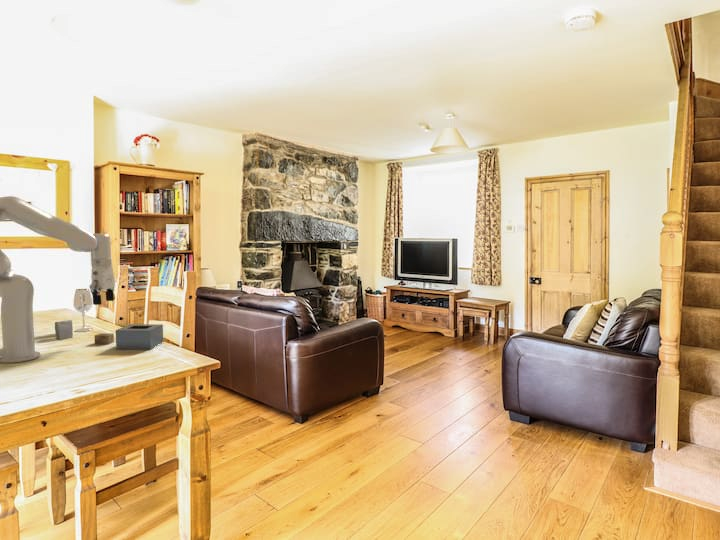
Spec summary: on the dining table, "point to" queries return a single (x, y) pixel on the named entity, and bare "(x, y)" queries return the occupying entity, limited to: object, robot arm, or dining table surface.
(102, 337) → the brown block
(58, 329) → the grey block
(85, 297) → the wineglass
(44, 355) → the dining table surface
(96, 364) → the dining table surface
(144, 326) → the box
